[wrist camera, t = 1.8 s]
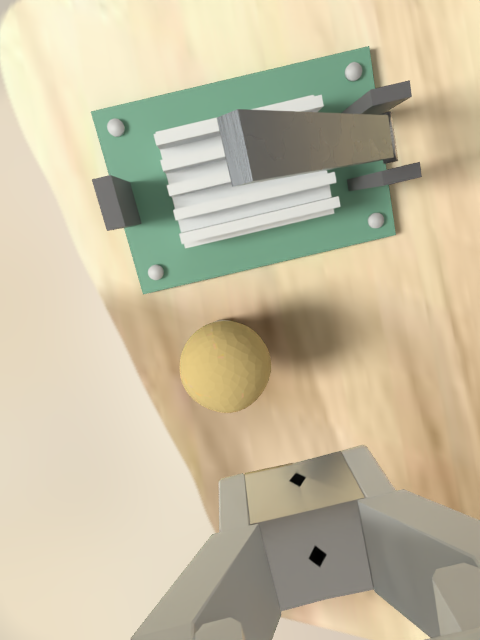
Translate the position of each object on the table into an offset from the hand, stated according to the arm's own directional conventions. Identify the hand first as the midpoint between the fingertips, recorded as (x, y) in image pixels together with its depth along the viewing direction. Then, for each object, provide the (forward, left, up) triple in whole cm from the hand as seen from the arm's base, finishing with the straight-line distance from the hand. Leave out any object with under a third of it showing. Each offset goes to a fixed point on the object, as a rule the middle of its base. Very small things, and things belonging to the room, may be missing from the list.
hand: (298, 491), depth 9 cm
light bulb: (-1, +5, -29) cm, 30 cm away
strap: (0, -10, -16) cm, 19 cm away
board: (+2, -8, -29) cm, 30 cm away
